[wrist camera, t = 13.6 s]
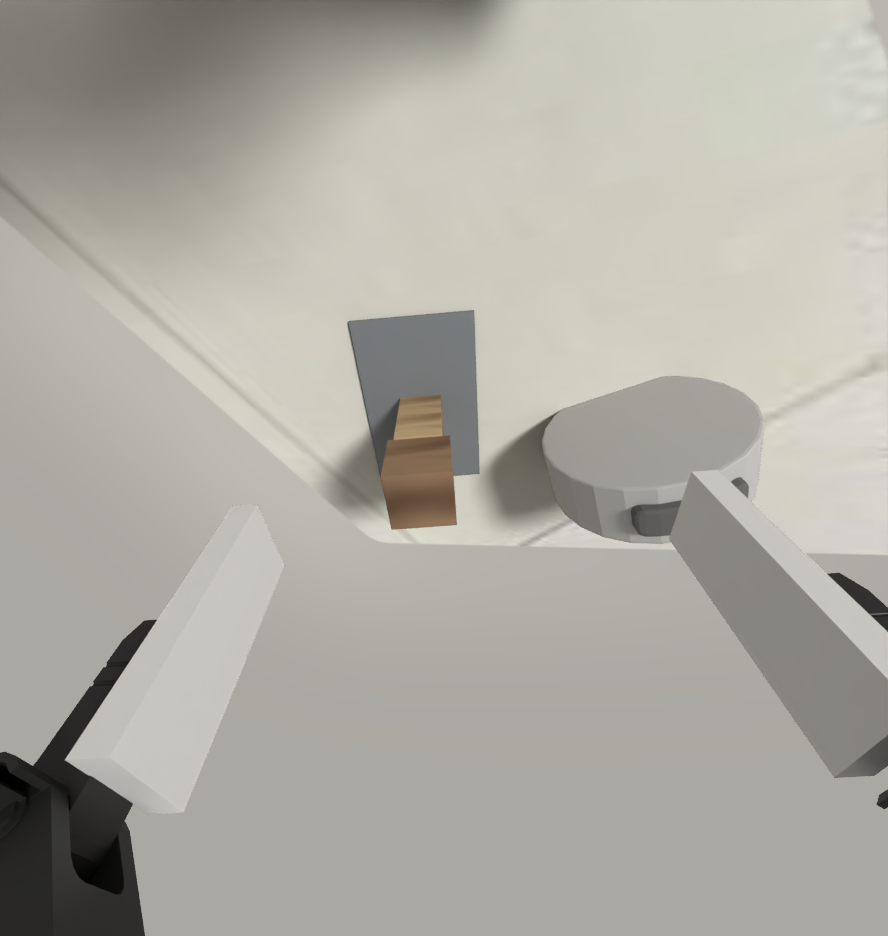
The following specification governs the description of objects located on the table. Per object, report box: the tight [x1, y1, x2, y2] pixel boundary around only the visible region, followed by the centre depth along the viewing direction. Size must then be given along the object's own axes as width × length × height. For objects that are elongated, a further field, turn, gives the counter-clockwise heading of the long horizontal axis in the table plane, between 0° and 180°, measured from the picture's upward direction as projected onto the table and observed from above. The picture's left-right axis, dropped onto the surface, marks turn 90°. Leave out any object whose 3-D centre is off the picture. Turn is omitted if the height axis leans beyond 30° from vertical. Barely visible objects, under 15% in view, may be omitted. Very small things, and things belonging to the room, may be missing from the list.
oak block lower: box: [397, 394, 444, 436], centre depth 49 cm, size 7×5×5 cm
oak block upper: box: [394, 412, 443, 440], centre depth 45 cm, size 7×5×5 cm
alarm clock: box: [542, 376, 765, 544], centre depth 44 cm, size 21×8×20 cm, turn 110°
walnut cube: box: [381, 435, 457, 530], centre depth 40 cm, size 6×6×6 cm
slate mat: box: [348, 310, 480, 477], centre depth 50 cm, size 22×14×1 cm, turn 4°
